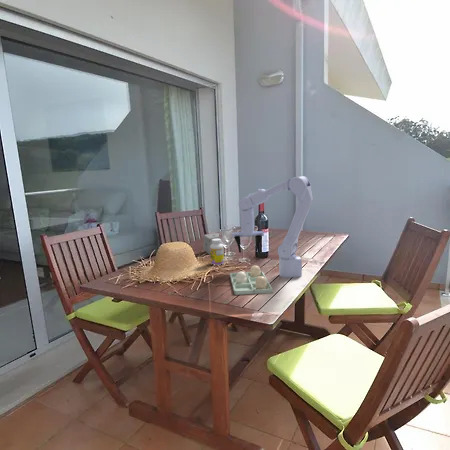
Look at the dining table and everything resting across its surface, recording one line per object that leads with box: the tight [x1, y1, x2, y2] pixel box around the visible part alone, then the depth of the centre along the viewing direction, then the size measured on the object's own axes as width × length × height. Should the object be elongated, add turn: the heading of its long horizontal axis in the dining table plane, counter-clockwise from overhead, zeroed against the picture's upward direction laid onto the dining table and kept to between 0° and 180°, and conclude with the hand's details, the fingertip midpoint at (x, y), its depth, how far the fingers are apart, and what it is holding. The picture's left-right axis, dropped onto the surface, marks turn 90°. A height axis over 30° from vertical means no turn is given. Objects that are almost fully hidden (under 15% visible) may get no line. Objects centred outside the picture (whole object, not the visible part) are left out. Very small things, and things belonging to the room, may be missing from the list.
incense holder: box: [202, 232, 220, 255], centre depth 189 cm, size 10×8×10 cm
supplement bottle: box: [209, 238, 225, 266], centre depth 165 cm, size 7×7×13 cm
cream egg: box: [236, 270, 247, 284], centre depth 134 cm, size 4×4×5 cm
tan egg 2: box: [255, 276, 268, 289], centre depth 128 cm, size 4×4×5 cm
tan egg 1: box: [249, 264, 262, 277], centre depth 142 cm, size 4×4×5 cm
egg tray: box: [229, 270, 274, 296], centre depth 135 cm, size 15×22×2 cm
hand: (248, 251), depth 152 cm, fingers open, 7 cm apart
